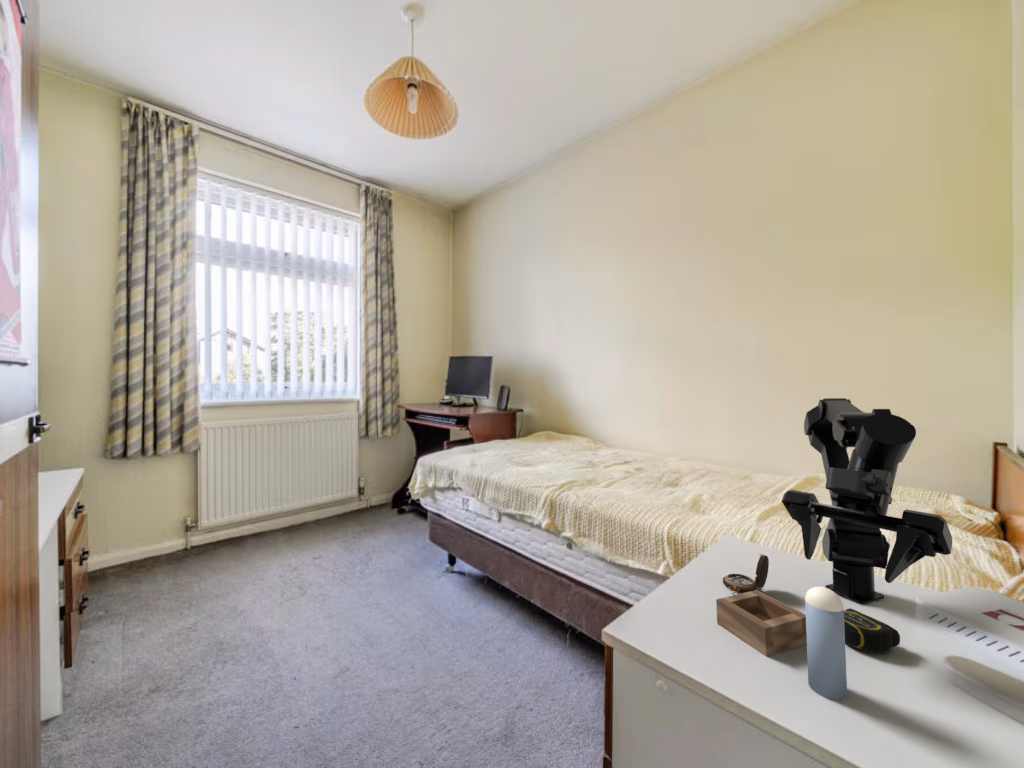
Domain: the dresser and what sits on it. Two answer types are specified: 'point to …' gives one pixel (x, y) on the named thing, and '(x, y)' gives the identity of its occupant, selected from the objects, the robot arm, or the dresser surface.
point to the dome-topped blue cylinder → (826, 643)
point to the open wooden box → (762, 622)
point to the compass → (746, 583)
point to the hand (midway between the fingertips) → (844, 568)
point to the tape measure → (869, 632)
